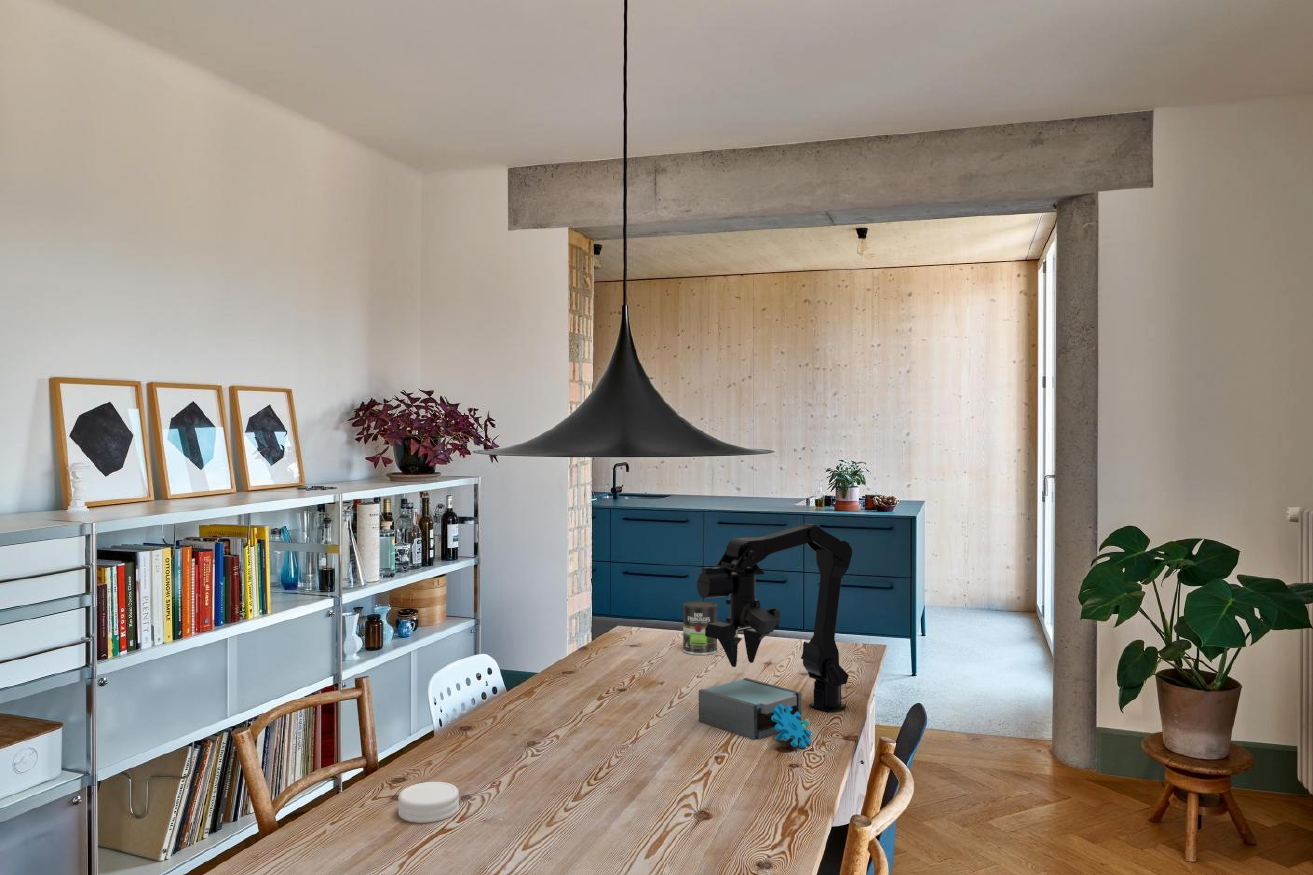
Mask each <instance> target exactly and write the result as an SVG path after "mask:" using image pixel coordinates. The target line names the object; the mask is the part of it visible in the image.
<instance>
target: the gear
mask: <svg viewBox="0 0 1313 875" xmlns="http://www.w3.org/2000/svg"><path fill="white" fill-rule="evenodd" d="M785 710H786V713H785V712H784V705H782V704H779V705H778V706H777V707H775V708H774V709H773V710H772V712H773V713H774V715H773V716H772V717H770V718H771V721H772V722H774V723H775V724H777V725H775V724H774V725H775V729H776V731H777V732H779V731H782V732H779V733H777V735H776V736H775V737H774V739H775V741H776V742H779V741H780V740H782V739H783V741H784V742H787V741H788V740H789V739H792V740H791V742H790V745H791V746H792V747H793V748H796V747H799V748H801V749H806V747H807V746H808V745H809V744H811V742H812V740H811V739H810V737H811V736H812V731H811V730H810V729H807V727H808V726H809V723H810V720H809V719H808V718H805V719H804V720H801V721H800V720H798V719H799V718H800V717H801V718H802V714H801V715H800V713H799V712H798V711H797V712H796V713H795V714H794V715H792V714H791V713H790V712H791V711H792V708H791V707H790V706H789V705H788V706H787V707H786V708H785ZM779 711H780V712H779Z"/></svg>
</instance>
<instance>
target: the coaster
mask: <svg viewBox="0 0 1313 875" xmlns="http://www.w3.org/2000/svg"><path fill="white" fill-rule="evenodd" d="M459 794H460V791H459V788H458V787H456V785H454V784H452V783H449V782H445V781H427V782H426V781H425V782H420V783H416V784H412V785H409V786H407V787H405V788H404V789H403V790H402V791H401V792H400V793H399V794H398V797H397V798H398V805H397V806H398V811H397V812H398V816H399V817H400V819H402V820H404V821H406V822H409V823H417V824H424V823H425V824H426V823H434V822H439V821H444V820H446V819H448V818H451V817H452V816H454V815H456V813H458V810H459V808H460V805H459V804H460V803H459V802H460V799H459V796H460V795H459Z"/></svg>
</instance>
